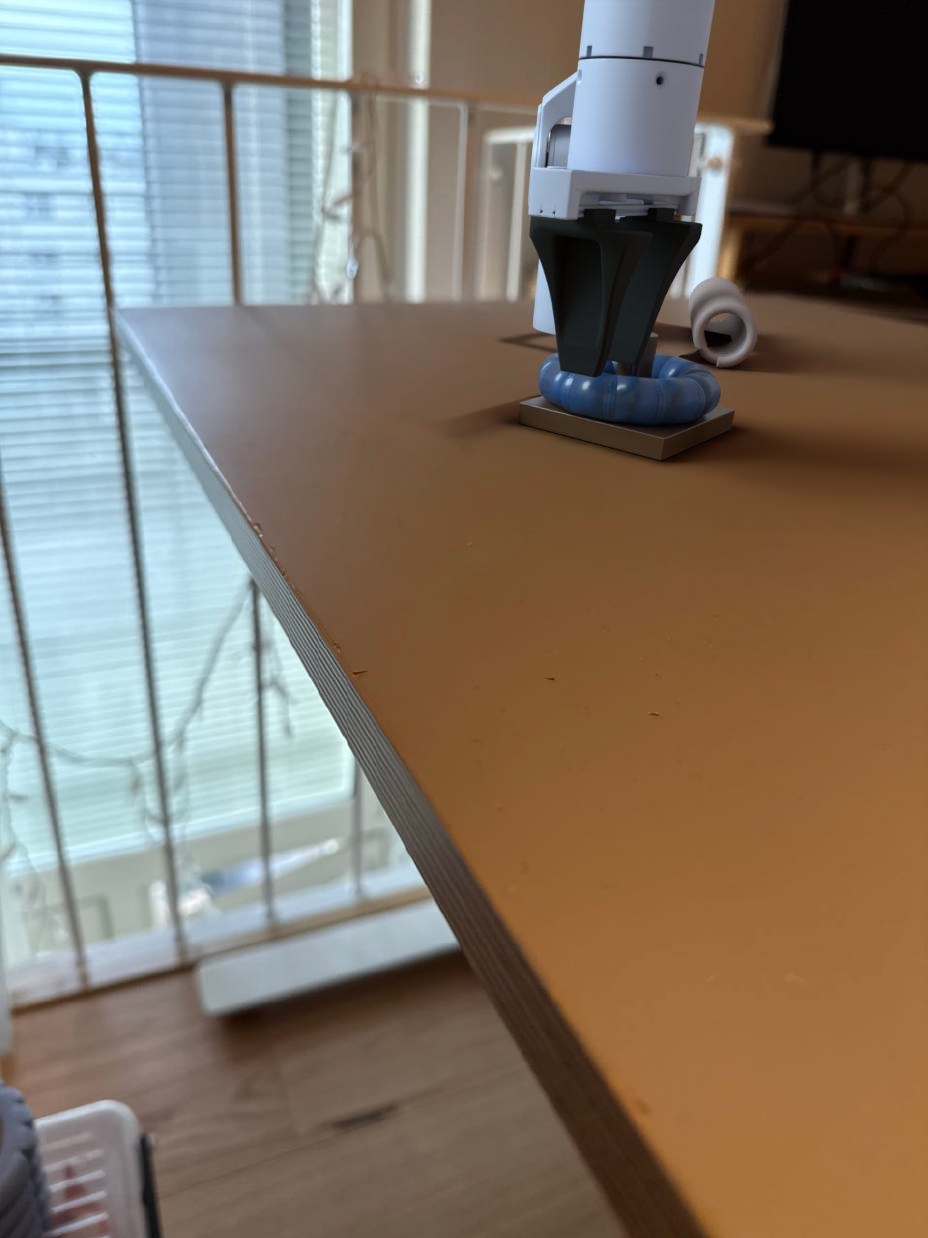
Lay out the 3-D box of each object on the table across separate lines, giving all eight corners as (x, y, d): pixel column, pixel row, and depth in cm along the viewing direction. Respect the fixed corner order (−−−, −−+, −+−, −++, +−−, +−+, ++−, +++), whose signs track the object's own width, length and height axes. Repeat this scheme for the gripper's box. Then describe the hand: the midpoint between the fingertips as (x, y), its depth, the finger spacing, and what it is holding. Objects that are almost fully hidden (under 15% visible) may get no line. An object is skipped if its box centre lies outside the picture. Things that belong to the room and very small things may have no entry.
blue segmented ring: (587, 376, 59) (592, 337, 58) (739, 407, 54) (748, 365, 53) (503, 402, 51) (507, 358, 50) (671, 441, 46) (679, 394, 45)
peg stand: (597, 398, 59) (609, 313, 56) (731, 429, 54) (749, 338, 52) (517, 423, 52) (526, 327, 50) (661, 461, 48) (678, 358, 45)
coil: (767, 310, 68) (747, 281, 83) (703, 297, 68) (696, 271, 84) (747, 374, 70) (731, 334, 86) (685, 361, 70) (681, 323, 86)
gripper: (629, 78, 50) (595, 338, 56) (480, 44, 39) (459, 372, 45) (757, 82, 46) (706, 358, 52) (634, 46, 35) (588, 400, 42)
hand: (600, 367), depth 48 cm, fingers open, 4 cm apart
